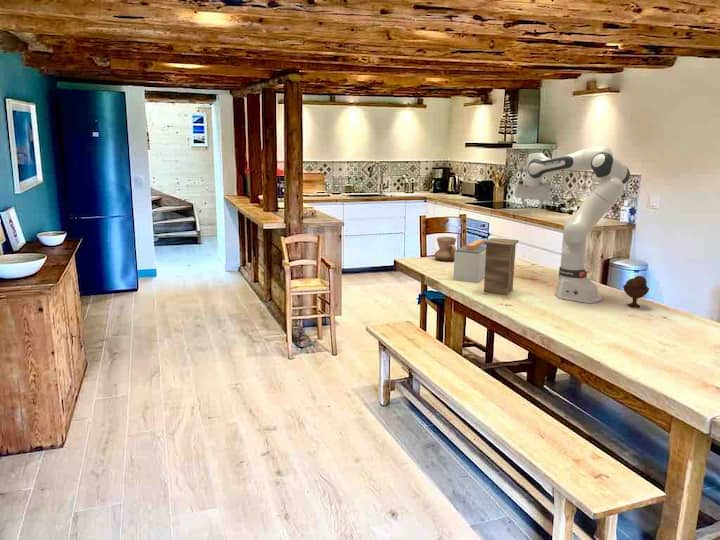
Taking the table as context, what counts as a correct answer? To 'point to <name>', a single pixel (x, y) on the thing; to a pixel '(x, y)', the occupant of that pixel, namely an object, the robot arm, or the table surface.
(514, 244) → the walnut stand
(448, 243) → the ceramic jug
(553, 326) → the table surface
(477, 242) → the terracotta block
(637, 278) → the ice cream bowl
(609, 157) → the robot arm
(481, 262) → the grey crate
